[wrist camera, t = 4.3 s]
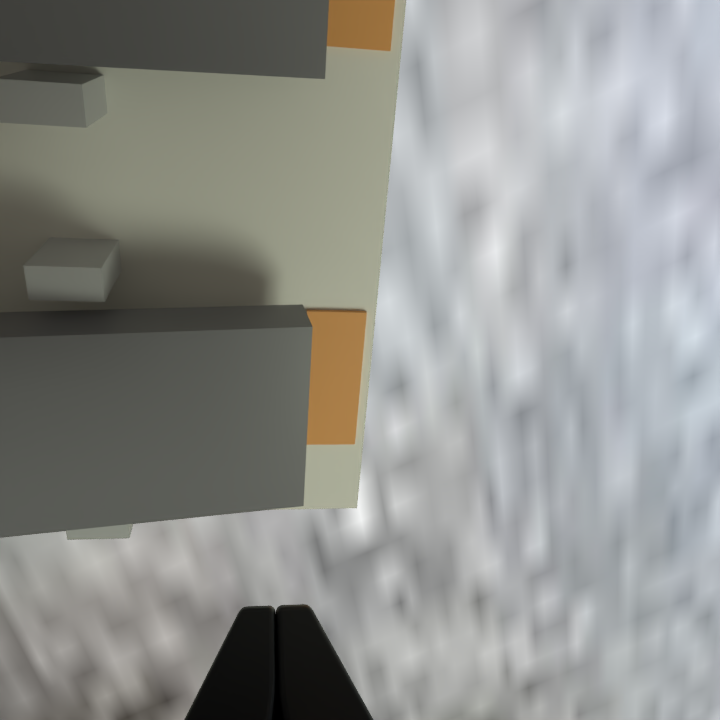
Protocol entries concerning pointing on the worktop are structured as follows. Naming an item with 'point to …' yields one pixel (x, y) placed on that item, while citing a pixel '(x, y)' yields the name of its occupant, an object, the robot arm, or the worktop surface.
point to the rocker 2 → (151, 414)
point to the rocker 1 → (170, 35)
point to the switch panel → (214, 206)
